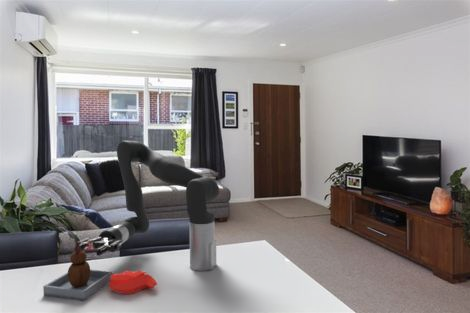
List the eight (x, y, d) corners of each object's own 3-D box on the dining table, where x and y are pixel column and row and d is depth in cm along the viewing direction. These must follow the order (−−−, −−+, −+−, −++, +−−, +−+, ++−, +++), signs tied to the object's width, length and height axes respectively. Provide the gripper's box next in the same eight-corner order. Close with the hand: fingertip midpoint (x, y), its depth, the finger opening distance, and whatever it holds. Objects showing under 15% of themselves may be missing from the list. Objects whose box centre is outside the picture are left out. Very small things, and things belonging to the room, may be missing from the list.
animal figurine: (155, 296, 108) (155, 281, 108) (106, 297, 107) (105, 282, 107) (161, 280, 120) (161, 266, 119) (116, 280, 119) (116, 266, 118)
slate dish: (112, 280, 119) (112, 271, 119) (84, 301, 105) (83, 291, 105) (75, 276, 123) (75, 267, 122) (43, 295, 109) (43, 286, 108)
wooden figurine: (81, 290, 110) (79, 244, 109) (64, 289, 111) (62, 243, 110) (93, 281, 117) (92, 237, 115) (78, 279, 118) (76, 236, 117)
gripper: (97, 226, 133) (67, 239, 118) (130, 228, 130) (104, 242, 114) (98, 245, 134) (68, 260, 118) (131, 247, 131) (105, 264, 115)
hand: (86, 251), depth 116 cm, fingers open, 8 cm apart
